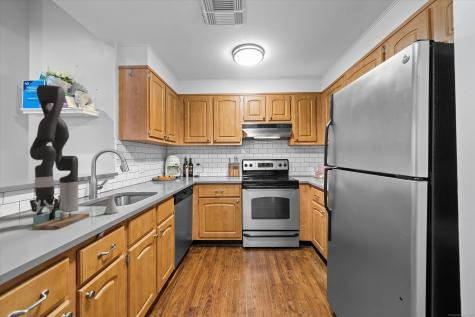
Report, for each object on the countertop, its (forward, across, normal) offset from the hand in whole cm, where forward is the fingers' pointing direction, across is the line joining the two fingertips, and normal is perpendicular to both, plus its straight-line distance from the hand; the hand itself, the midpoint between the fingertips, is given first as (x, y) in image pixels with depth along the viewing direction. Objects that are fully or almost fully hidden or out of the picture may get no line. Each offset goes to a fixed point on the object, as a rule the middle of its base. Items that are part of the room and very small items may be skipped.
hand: (46, 219), depth 121 cm
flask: (+2, -22, -19) cm, 30 cm away
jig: (+2, -8, 0) cm, 9 cm away
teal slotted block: (+1, 0, -2) cm, 2 cm away
